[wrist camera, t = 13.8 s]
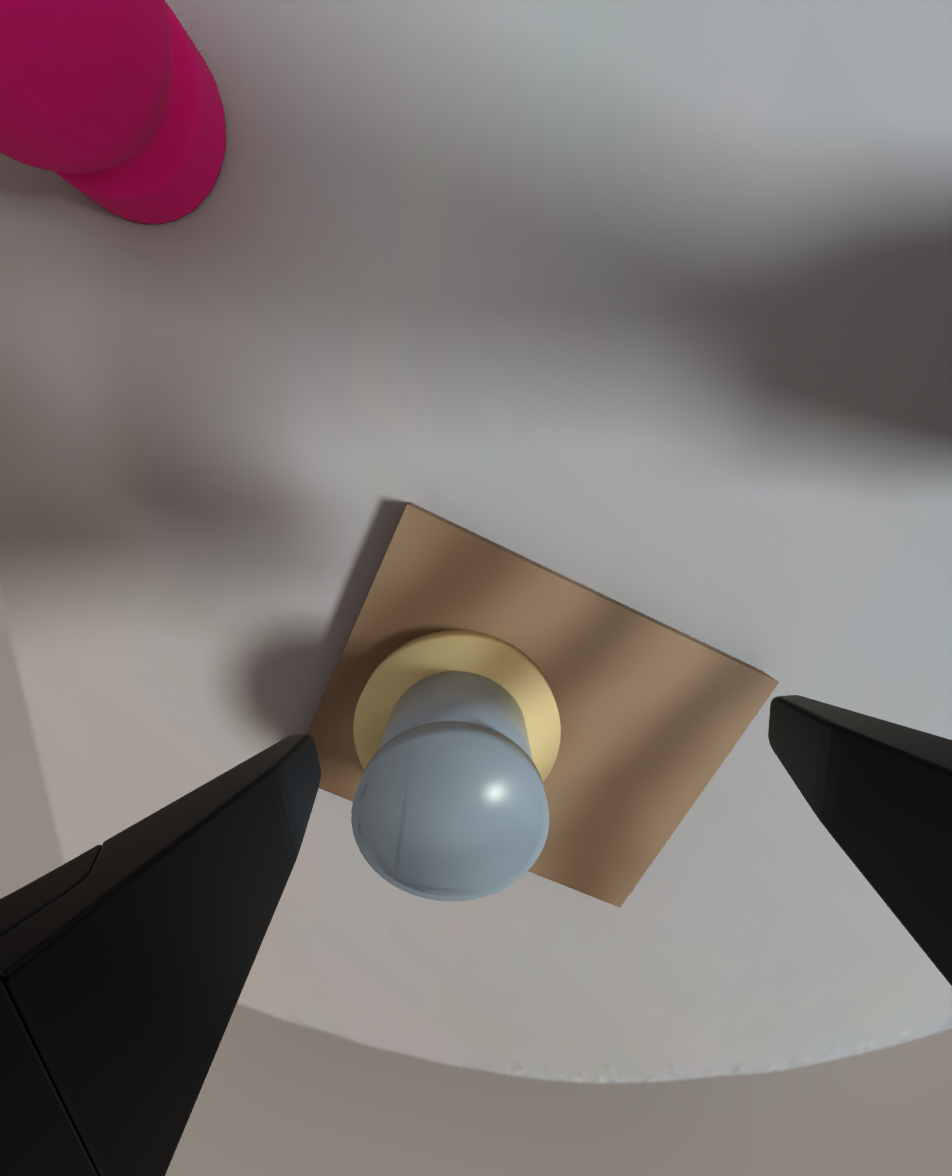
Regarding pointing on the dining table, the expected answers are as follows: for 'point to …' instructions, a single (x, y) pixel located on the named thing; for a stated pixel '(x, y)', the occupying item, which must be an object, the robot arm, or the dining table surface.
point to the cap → (452, 792)
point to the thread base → (545, 693)
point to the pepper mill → (111, 103)
